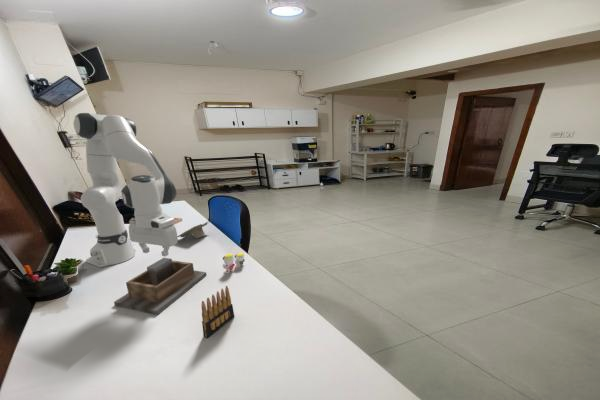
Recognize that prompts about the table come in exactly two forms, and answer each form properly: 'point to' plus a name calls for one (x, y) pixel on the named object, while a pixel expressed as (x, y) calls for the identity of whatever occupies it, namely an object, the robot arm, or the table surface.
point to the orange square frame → (177, 220)
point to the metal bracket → (160, 271)
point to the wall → (194, 231)
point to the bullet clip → (217, 313)
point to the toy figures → (229, 261)
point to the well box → (159, 289)
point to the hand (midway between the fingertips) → (155, 253)
